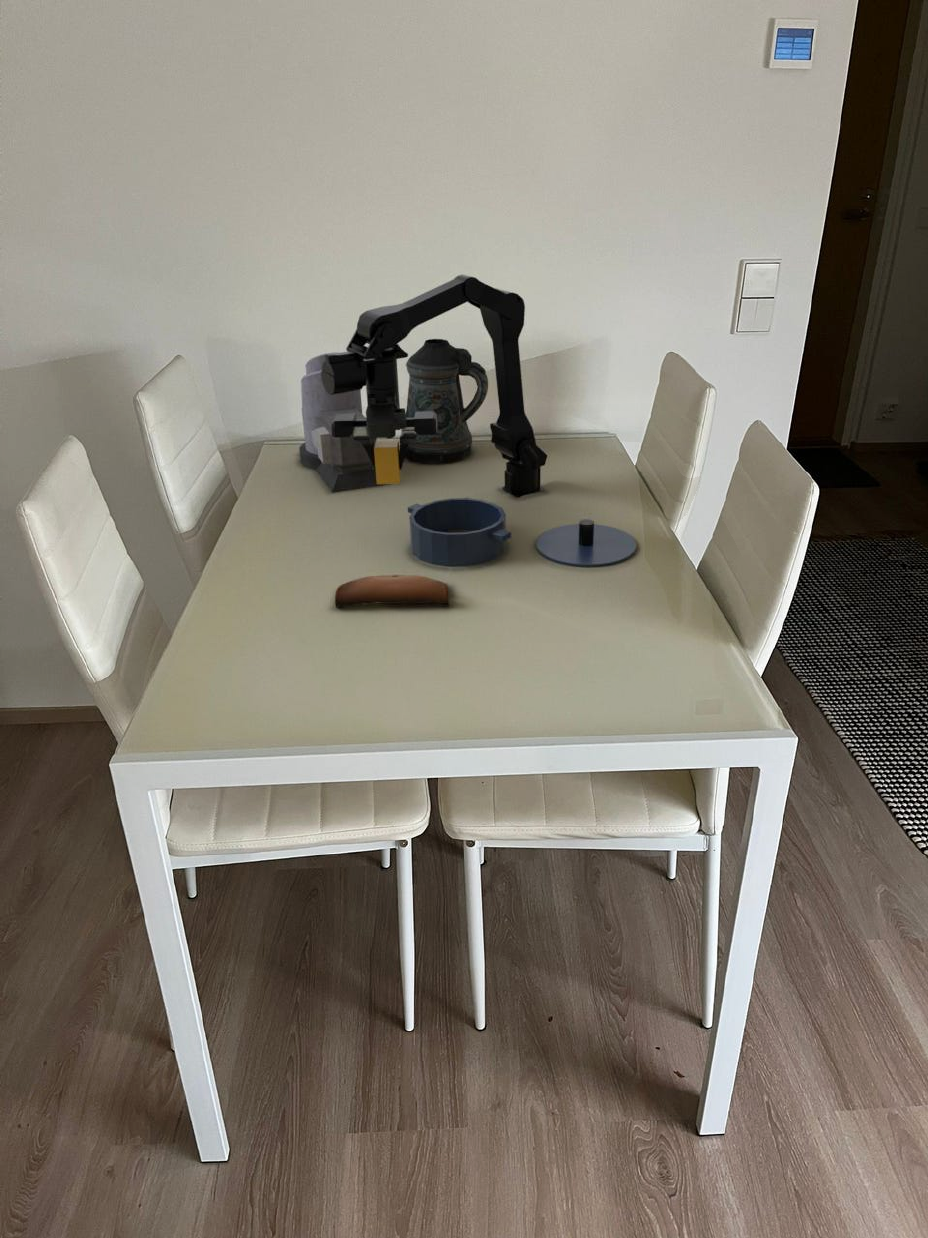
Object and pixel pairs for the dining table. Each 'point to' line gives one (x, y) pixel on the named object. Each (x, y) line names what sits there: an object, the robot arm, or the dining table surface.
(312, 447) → the juicer
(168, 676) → the dining table surface
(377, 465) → the block
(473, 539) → the pot
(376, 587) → the sunglasses case
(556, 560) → the lid
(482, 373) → the beer stein
